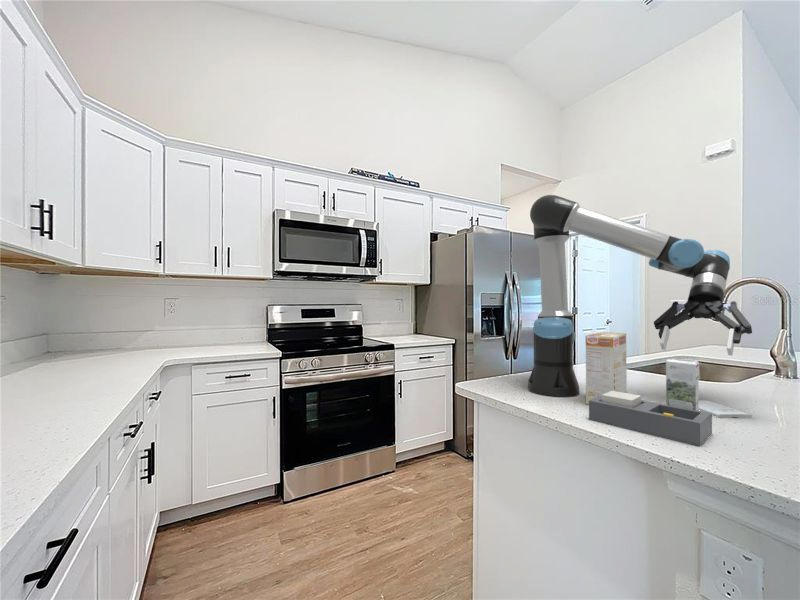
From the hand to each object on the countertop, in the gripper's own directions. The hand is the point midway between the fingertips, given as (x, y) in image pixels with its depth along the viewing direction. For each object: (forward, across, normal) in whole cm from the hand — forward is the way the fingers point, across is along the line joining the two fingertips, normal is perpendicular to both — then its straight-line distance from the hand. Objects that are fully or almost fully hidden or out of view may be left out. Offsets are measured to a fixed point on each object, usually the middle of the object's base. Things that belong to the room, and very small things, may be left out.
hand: (694, 349), depth 92 cm
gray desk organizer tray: (+27, +4, +4) cm, 28 cm away
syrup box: (+19, 0, -4) cm, 19 cm away
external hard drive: (+8, -3, -16) cm, 18 cm away
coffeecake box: (+17, +18, -6) cm, 26 cm away
